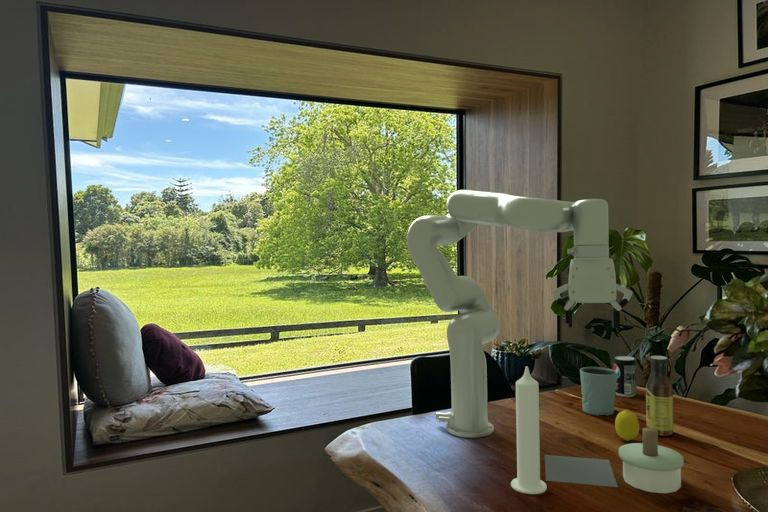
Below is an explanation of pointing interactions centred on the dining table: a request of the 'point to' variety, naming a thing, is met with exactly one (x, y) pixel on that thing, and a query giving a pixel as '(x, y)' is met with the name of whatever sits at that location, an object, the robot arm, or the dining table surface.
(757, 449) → the dining table surface
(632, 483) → the bowl
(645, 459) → the lid
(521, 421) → the candle
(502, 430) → the dining table surface
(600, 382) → the blue-green cup
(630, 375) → the beverage can
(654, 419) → the sauce bottle
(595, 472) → the mat
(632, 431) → the lemon
